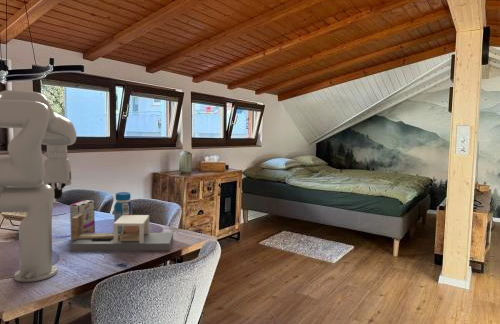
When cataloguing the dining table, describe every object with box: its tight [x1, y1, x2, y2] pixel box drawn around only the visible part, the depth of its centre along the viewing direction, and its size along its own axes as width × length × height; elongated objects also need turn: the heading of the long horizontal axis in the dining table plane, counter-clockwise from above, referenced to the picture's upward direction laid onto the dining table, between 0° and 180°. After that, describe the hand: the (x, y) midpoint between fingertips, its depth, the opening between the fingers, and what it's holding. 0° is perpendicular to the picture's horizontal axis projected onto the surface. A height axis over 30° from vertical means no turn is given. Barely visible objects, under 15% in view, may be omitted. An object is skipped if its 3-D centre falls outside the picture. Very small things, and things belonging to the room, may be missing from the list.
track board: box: [69, 214, 174, 252], centre depth 153 cm, size 16×40×12 cm, turn 97°
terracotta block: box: [125, 226, 139, 234], centre depth 153 cm, size 5×5×5 cm
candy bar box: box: [69, 199, 96, 241], centre depth 162 cm, size 11×5×16 cm, turn 168°
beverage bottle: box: [113, 191, 133, 233], centre depth 169 cm, size 8×8×20 cm
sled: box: [70, 214, 139, 241], centre depth 152 cm, size 10×28×10 cm, turn 97°
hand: (57, 198), depth 148 cm, fingers closed
